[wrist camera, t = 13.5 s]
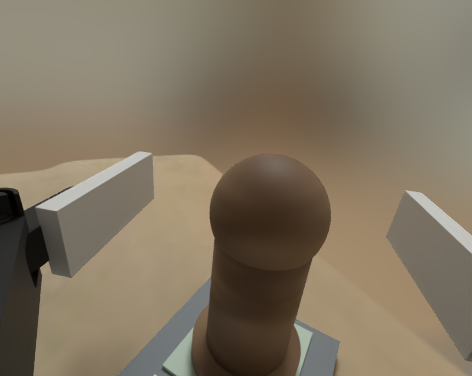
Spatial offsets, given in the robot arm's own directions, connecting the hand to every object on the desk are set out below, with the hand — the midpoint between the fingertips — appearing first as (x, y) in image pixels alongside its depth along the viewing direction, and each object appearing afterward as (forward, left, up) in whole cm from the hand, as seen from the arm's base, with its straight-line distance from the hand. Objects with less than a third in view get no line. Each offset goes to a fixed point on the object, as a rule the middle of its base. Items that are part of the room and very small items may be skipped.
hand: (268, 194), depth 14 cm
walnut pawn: (+1, -3, -8) cm, 8 cm away
